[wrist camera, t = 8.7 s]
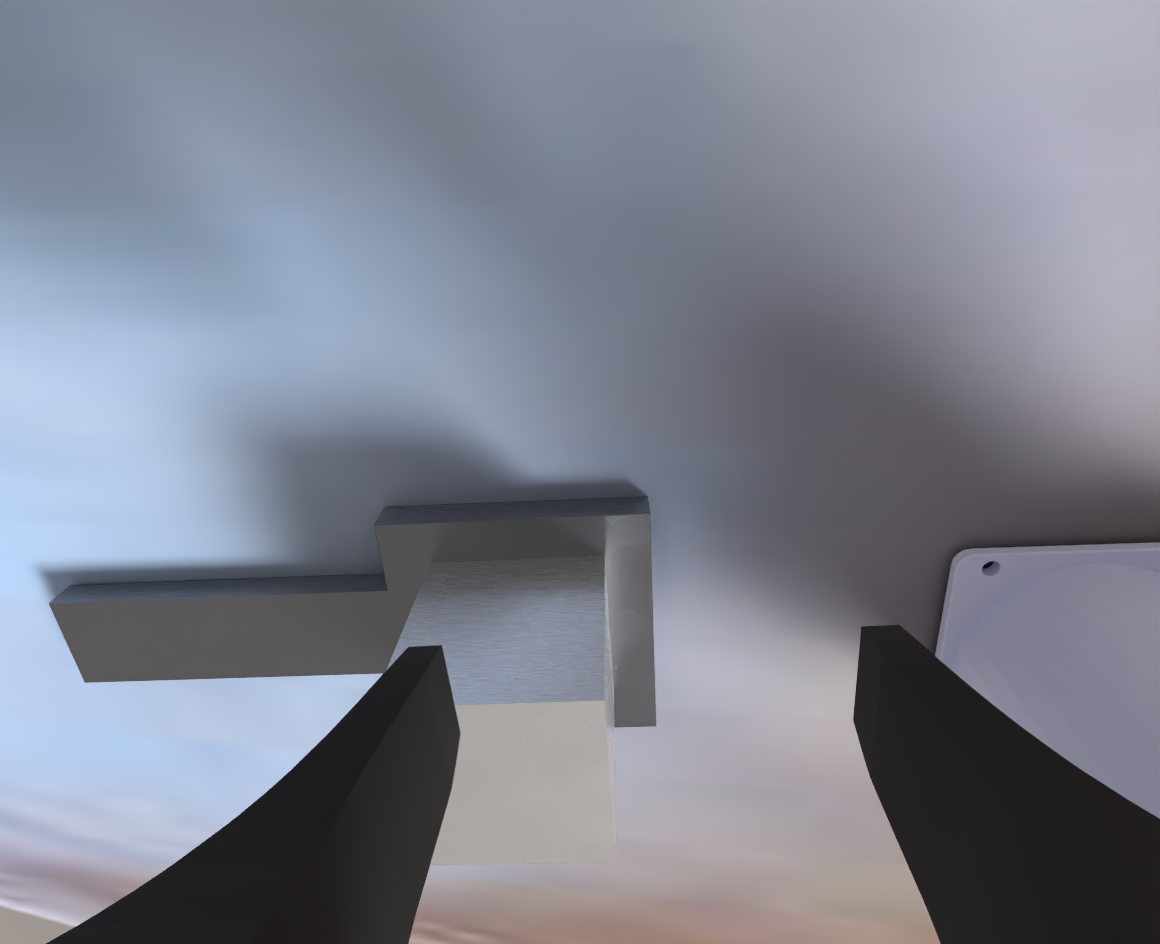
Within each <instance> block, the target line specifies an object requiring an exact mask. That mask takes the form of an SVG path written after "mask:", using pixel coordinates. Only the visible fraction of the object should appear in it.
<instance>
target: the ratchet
mask: <svg viewBox="0 0 1160 944" xmlns="http://www.w3.org/2000/svg"><path fill="white" fill-rule="evenodd" d="M374 528H375V533H376V537H377V542H378V547H379V551H380V556H381V561H382V565H383V570H384V574H355V575H327V576H302V577H276V578H251V579H225V580H200V581H174V582H149V583H123V584H97V585H72V586H69V587H68V588H67V589H65V590H64V591H63V592H62V593H61V594H60V595H58V596H57V597H56V598H55V599H54V600H52V601H51V602H50V603H49V605H50V607H51V609H52V611H53V614H54V616H55V618H56V620H57V622H58V625H59V627H60V629H61V631H62V633H63V636H64V638H65V640H66V642H67V644H68V647H69V649H70V651H71V653H72V655H73V657H74V660H75V662H76V664H77V666H78V668H79V671H80V673H81V675H82V677H83V679H84V682H85V683H86V682H118V681H150V680H183V679H215V678H247V677H280V676H312V675H344V674H376V673H385V672H386V670H387V667H388V665H389V663H390V660H391V658H392V655H393V653H394V650H395V648H396V646H397V643H398V641H399V638H400V636H401V633H402V631H403V628H404V626H405V624H406V621H407V619H408V616H409V614H410V611H411V609H412V606H413V604H414V602H415V599H416V597H417V594H418V592H419V589H420V587H421V585H422V582H423V580H424V577H425V575H426V572H427V570H428V567H429V565H430V563H443V562H466V561H489V560H512V559H535V558H558V557H581V556H604V555H605V565H606V580H607V595H608V610H609V626H610V641H611V656H612V671H613V686H614V727H646V726H656V705H655V671H654V637H653V603H652V570H651V536H650V511H649V502H648V497H622V498H596V499H570V500H545V501H519V502H493V503H468V504H442V505H416V506H390V507H385V508H384V510H383V511H382V513H381V515H380V516H379V518H378V520H377V522H376V523H375V525H374Z"/></svg>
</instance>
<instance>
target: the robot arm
mask: <svg viewBox="0 0 1160 944" xmlns="http://www.w3.org/2000/svg"><path fill="white" fill-rule="evenodd" d="M991 561H994V563H993V565H992V566H990V567H989V568H986V569H982V568H983V566H984V565H985V564H986V563H987V562H991ZM853 720H854V724H855V727H856V731H857V734H858V738H859V742H860V745H861V749H862V752H863V755H864V759H865V762H866V765H867V768H868V772H869V775H870V778H871V780H872V783H873V785H874V787H875V790H876V792H877V794H878V797H879V799H880V801H881V804H882V806H883V808H884V811H885V813H886V815H887V818H888V820H889V822H890V825H891V827H892V829H893V832H894V834H895V836H896V839H897V841H898V843H899V845H900V848H901V850H902V852H903V855H904V857H905V859H906V861H907V864H908V866H909V868H910V871H911V873H912V875H913V877H914V880H915V882H916V884H917V887H918V889H919V891H920V893H921V896H922V898H923V900H924V903H925V905H926V907H927V910H928V912H929V915H930V917H931V920H932V922H933V925H934V927H935V930H936V933H937V935H938V938H939V940H940V943H941V944H1160V542H1156V543H1125V544H1095V545H1065V546H1034V547H1004V548H973V549H966V550H963V551H961V552H959V553H958V554H957V555H956V556H955V557H954V558H953V560H952V563H951V568H950V573H949V579H948V585H947V590H946V596H945V602H944V607H943V613H942V619H941V624H940V630H939V636H938V641H937V647H936V653H935V656H934V655H933V654H932V653H931V652H930V651H929V650H928V649H926V648H925V647H924V646H923V645H922V644H921V643H920V642H918V641H917V640H916V639H915V638H914V637H913V636H911V635H910V634H909V633H908V632H907V631H906V630H904V629H903V628H902V627H901V626H900V625H888V626H865V627H861V639H860V650H859V661H858V672H857V684H856V695H855V706H854V718H853ZM460 734H461V733H460V728H459V723H458V718H457V714H456V709H455V704H454V700H453V695H452V690H451V686H450V681H449V676H448V672H447V667H446V662H445V658H444V653H443V648H442V645H436V646H414V647H408V648H407V649H406V650H405V651H404V652H403V653H402V654H401V655H400V656H399V657H398V658H397V659H396V661H395V662H394V663H393V664H392V665H391V666H390V667H389V668H388V669H387V670H386V672H385V673H384V674H383V675H382V676H381V677H380V678H379V679H378V680H377V682H376V683H375V684H374V685H373V686H372V687H371V688H370V689H369V691H368V692H367V693H366V694H365V695H364V696H363V697H362V698H361V699H360V700H359V702H358V703H357V704H356V705H355V706H354V707H353V708H352V709H351V710H350V711H349V712H348V713H347V714H346V715H345V717H344V718H343V719H342V720H341V721H340V722H339V723H338V724H337V725H336V726H335V727H334V728H333V729H332V730H331V731H330V732H329V733H328V735H327V736H326V737H325V738H323V739H322V740H321V741H320V742H319V743H318V744H317V745H316V746H315V747H314V748H313V749H312V750H311V751H310V752H309V753H308V754H307V755H306V756H305V757H304V758H303V759H302V760H301V761H300V762H299V763H298V764H297V765H296V766H295V767H294V768H293V769H292V770H291V771H290V772H289V773H287V774H286V775H285V776H284V777H283V778H282V779H281V780H280V781H279V782H278V783H276V784H275V785H274V786H273V787H272V788H271V789H270V790H268V791H267V792H266V793H265V794H264V795H263V796H261V797H260V798H259V799H258V800H257V801H255V802H254V803H253V804H252V805H251V806H249V807H248V808H247V809H246V810H245V811H243V812H242V813H241V814H240V815H239V816H237V817H236V818H235V819H234V820H232V821H231V822H230V823H229V824H227V825H226V826H225V827H223V828H222V829H221V830H219V831H218V832H217V833H215V834H214V835H212V836H211V837H210V838H208V839H207V840H206V841H204V842H203V843H202V844H200V845H199V846H198V847H196V848H195V849H194V850H192V851H191V852H189V853H188V854H187V855H185V856H184V857H183V858H181V859H180V860H179V861H177V862H176V863H175V864H173V865H172V866H170V867H169V868H167V869H166V870H165V871H163V872H162V873H160V874H159V875H157V876H156V877H154V878H153V879H151V880H150V881H148V882H147V883H145V884H144V885H142V886H141V887H139V888H138V889H136V890H135V891H133V892H131V893H130V894H128V895H127V896H125V897H124V898H122V899H120V900H119V901H117V902H116V903H114V904H112V905H111V906H109V907H108V908H106V909H105V910H103V911H101V912H100V913H98V914H96V915H95V916H93V917H91V918H90V919H88V920H86V921H85V922H83V923H81V924H80V925H78V926H76V927H75V928H73V929H71V930H69V931H68V932H66V933H64V934H62V935H60V936H59V937H57V938H55V939H53V940H52V941H50V942H48V943H46V944H408V942H409V938H410V934H411V930H412V926H413V922H414V918H415V914H416V911H417V908H418V904H419V901H420V897H421V894H422V891H423V887H424V884H425V880H426V877H427V873H428V870H429V867H430V863H431V860H432V856H433V853H434V849H435V846H436V843H437V839H438V836H439V832H440V829H441V825H442V822H443V818H444V815H445V811H446V808H447V804H448V801H449V797H450V793H451V790H452V784H453V778H454V773H455V767H456V761H457V754H458V747H459V741H460Z"/></svg>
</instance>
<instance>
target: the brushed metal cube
mask: <svg viewBox="0 0 1160 944" xmlns="http://www.w3.org/2000/svg"><path fill="white" fill-rule="evenodd" d="M436 645H442V648H443V653H444V658H445V662H446V667H447V672H448V676H449V681H450V686H451V690H452V695H453V700H454V704H455V709H456V714H457V718H458V723H459V728H460V733H461V734H460V741H459V747H458V754H457V761H456V767H455V773H454V778H453V784H452V790H451V793H450V797H449V801H448V804H447V808H446V811H445V815H444V818H443V822H442V825H441V829H440V832H439V836H438V839H437V843H436V846H435V849H434V853H433V856H432V860H431V863H430V866H431V865H486V864H542V863H597V862H616V806H615V734H614V686H613V671H612V656H611V641H610V626H609V610H608V595H607V580H606V565H605V555H604V556H581V557H558V558H535V559H512V560H489V561H466V562H443V563H430V565H429V567H428V570H427V572H426V575H425V577H424V580H423V582H422V585H421V587H420V589H419V592H418V594H417V597H416V599H415V602H414V604H413V606H412V609H411V611H410V614H409V616H408V619H407V621H406V624H405V626H404V628H403V631H402V633H401V636H400V638H399V641H398V643H397V646H396V648H395V650H394V653H393V655H392V658H391V660H390V663H389V665H388V667H387V669H388V668H389V667H390V666H391V665H392V664H393V663H394V662H395V661H396V659H397V658H398V657H399V656H400V655H401V654H402V653H403V652H404V651H405V650H406V649H407V648H408V647H414V646H436Z"/></svg>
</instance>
